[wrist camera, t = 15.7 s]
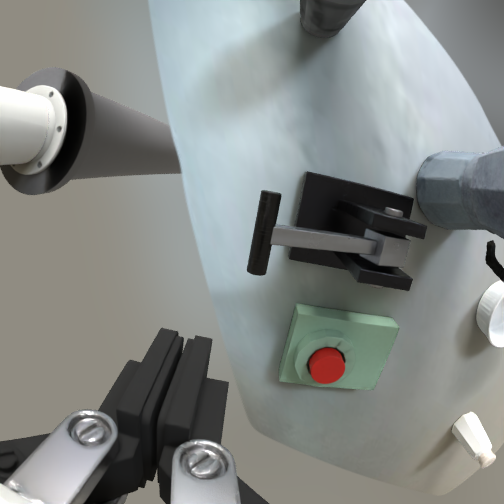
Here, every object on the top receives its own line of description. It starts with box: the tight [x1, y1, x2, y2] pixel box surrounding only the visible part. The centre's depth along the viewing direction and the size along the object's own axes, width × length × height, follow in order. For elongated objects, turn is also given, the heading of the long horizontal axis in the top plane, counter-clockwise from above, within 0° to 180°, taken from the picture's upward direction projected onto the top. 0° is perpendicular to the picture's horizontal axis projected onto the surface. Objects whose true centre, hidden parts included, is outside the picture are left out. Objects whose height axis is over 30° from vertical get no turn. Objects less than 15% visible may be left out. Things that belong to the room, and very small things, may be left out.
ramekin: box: [476, 281, 504, 348], centre depth 32 cm, size 9×9×4 cm
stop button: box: [309, 348, 345, 384], centre depth 31 cm, size 4×4×2 cm
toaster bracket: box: [288, 171, 427, 291], centre depth 26 cm, size 12×9×12 cm
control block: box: [279, 303, 399, 390], centre depth 33 cm, size 12×9×4 cm
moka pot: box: [416, 146, 504, 283], centre depth 21 cm, size 10×15×20 cm, turn 6°
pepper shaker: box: [451, 412, 496, 468], centre depth 34 cm, size 5×5×11 cm
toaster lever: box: [247, 190, 411, 276], centre depth 21 cm, size 12×5×2 cm, turn 80°
